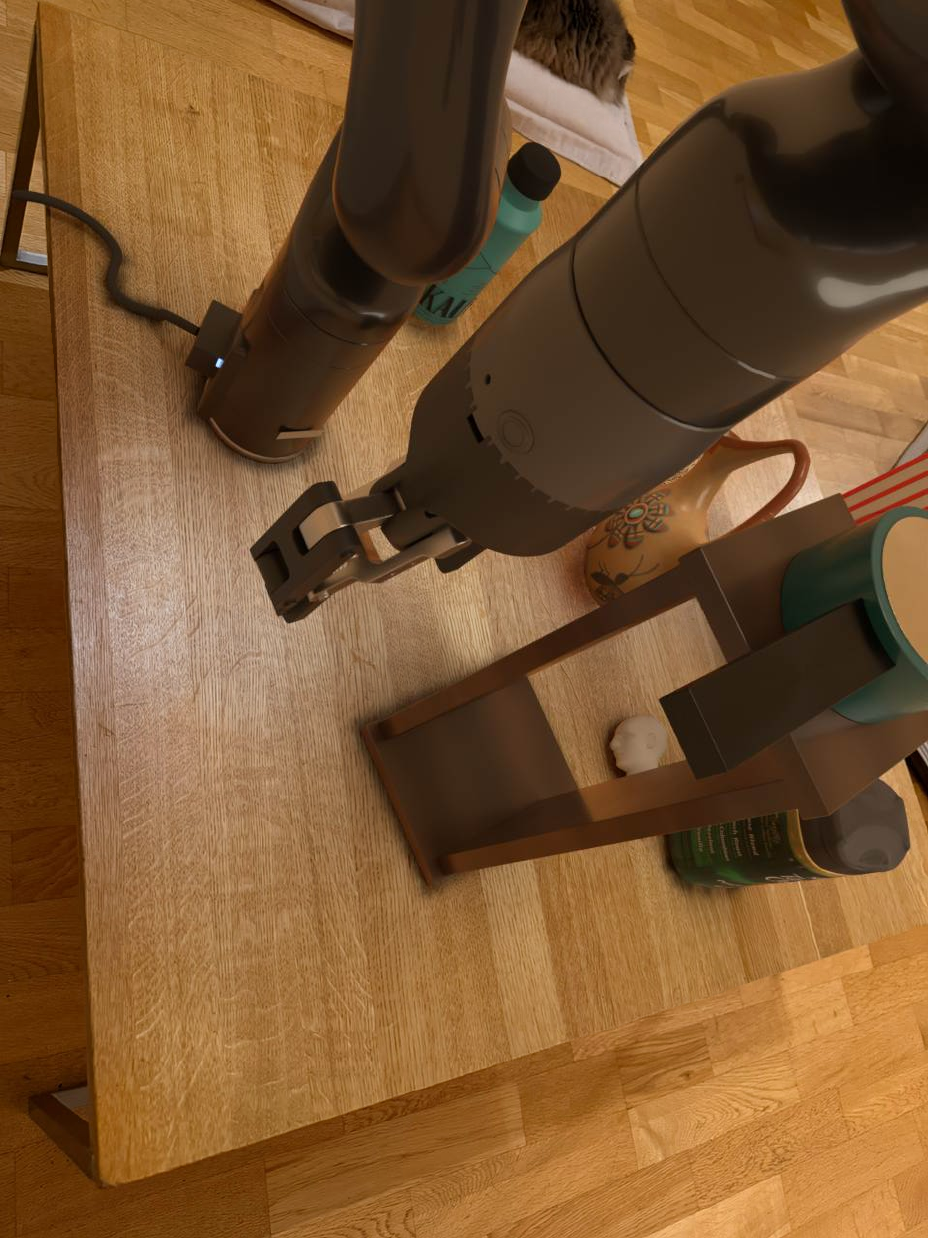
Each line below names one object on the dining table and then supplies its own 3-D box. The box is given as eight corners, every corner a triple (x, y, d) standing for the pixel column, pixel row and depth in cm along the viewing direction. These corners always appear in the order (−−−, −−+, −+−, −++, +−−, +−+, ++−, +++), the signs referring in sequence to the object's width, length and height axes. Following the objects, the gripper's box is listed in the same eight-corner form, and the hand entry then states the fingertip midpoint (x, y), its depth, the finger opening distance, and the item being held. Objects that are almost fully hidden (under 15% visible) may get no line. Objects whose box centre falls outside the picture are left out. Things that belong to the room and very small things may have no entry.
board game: (715, 555, 99) (950, 434, 77) (756, 562, 102) (994, 448, 80) (749, 747, 93) (1017, 674, 71) (792, 748, 96) (1062, 679, 74)
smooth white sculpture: (607, 716, 86) (658, 732, 87) (594, 798, 82) (648, 814, 83) (624, 698, 82) (678, 715, 83) (612, 784, 78) (669, 800, 79)
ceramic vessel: (627, 670, 88) (850, 577, 67) (549, 633, 84) (759, 523, 64) (646, 526, 95) (852, 403, 75) (575, 486, 92) (770, 347, 72)
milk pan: (679, 863, 36) (782, 848, 32) (579, 647, 36) (667, 605, 32) (933, 687, 48) (1032, 660, 43) (853, 528, 48) (943, 486, 44)
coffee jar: (667, 888, 82) (843, 868, 67) (660, 797, 85) (827, 758, 70) (747, 893, 86) (929, 875, 71) (738, 807, 89) (911, 771, 74)
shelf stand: (428, 886, 70) (829, 816, 41) (359, 727, 72) (699, 546, 42) (575, 802, 80) (990, 694, 50) (512, 663, 81) (879, 476, 51)
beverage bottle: (416, 266, 90) (532, 110, 74) (464, 317, 91) (589, 175, 75) (378, 297, 87) (492, 140, 70) (429, 350, 88) (553, 208, 72)
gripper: (668, 281, 34) (451, 474, 48) (341, 315, 26) (188, 538, 39) (757, 463, 34) (512, 609, 47) (450, 558, 25) (257, 702, 39)
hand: (365, 576), depth 43 cm, fingers open, 8 cm apart
